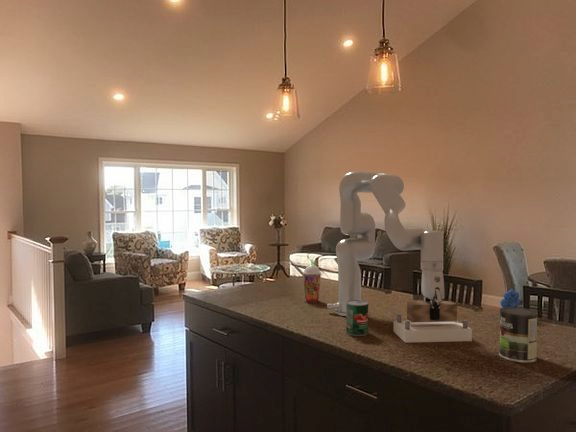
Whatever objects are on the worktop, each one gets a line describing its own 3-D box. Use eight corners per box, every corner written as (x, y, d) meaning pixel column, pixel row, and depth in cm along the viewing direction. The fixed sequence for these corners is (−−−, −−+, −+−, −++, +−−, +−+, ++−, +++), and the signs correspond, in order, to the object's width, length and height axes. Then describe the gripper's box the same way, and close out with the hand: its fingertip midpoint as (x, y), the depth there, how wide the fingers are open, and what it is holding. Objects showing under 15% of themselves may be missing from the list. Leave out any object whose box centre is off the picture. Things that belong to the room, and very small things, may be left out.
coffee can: (511, 363, 134) (511, 315, 134) (492, 352, 144) (493, 307, 144) (544, 362, 135) (545, 314, 134) (523, 351, 145) (524, 306, 145)
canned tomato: (363, 337, 160) (363, 305, 160) (342, 333, 164) (342, 303, 164) (371, 331, 167) (371, 301, 167) (351, 328, 171) (351, 299, 171)
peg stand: (405, 342, 154) (405, 323, 154) (393, 331, 167) (393, 313, 167) (471, 341, 156) (472, 321, 155) (455, 330, 169) (455, 312, 168)
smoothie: (300, 302, 217) (300, 259, 216) (306, 298, 224) (306, 257, 224) (317, 303, 213) (317, 260, 213) (323, 300, 221) (323, 258, 221)
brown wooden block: (450, 317, 164) (450, 301, 164) (457, 321, 159) (457, 304, 159) (407, 318, 163) (407, 301, 163) (412, 322, 158) (412, 305, 158)
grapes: (508, 314, 192) (509, 286, 191) (524, 318, 186) (524, 288, 186) (491, 318, 186) (491, 288, 185) (506, 322, 180) (506, 291, 180)
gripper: (452, 269, 152) (452, 323, 153) (433, 262, 169) (432, 311, 170) (430, 269, 152) (430, 324, 152) (413, 262, 169) (412, 312, 169)
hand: (431, 317), depth 161 cm, fingers closed on brown wooden block, 5 cm apart
